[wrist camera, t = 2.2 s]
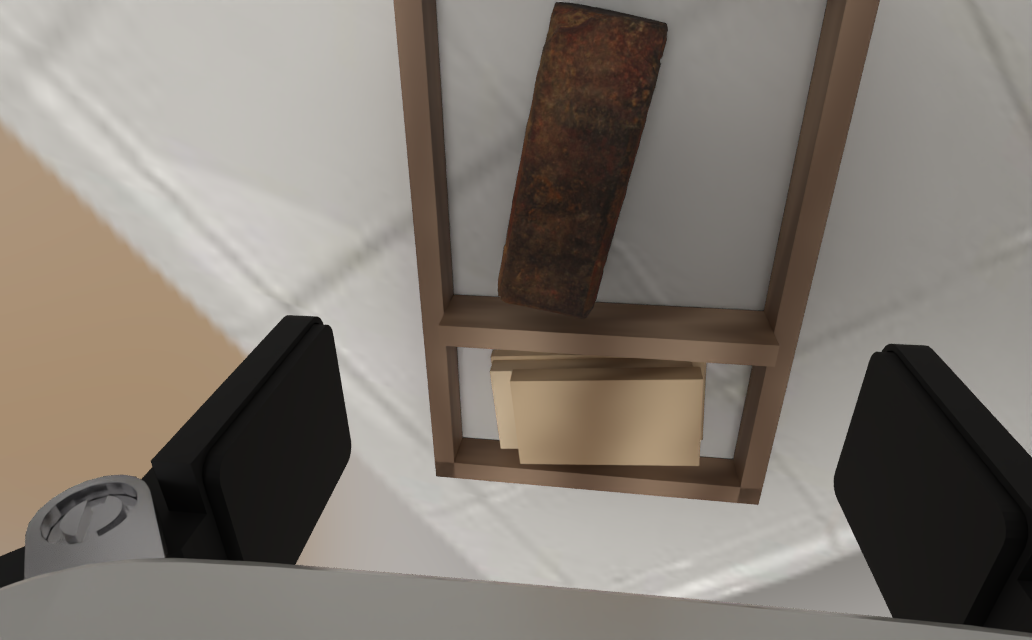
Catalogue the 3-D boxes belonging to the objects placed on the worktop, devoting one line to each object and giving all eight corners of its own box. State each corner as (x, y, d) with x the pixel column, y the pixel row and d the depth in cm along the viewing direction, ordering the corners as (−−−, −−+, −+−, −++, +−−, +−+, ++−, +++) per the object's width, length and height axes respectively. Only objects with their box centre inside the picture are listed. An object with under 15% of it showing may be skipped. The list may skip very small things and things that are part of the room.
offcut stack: (704, 341, 29) (713, 377, 27) (700, 427, 32) (707, 467, 29) (494, 345, 31) (483, 379, 28) (505, 426, 33) (496, 465, 31)
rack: (871, -59, 21) (908, -65, 18) (750, 476, 32) (762, 520, 30) (405, -53, 23) (379, -57, 20) (445, 450, 34) (431, 490, 31)
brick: (594, 276, 28) (591, 326, 24) (508, 257, 28) (491, 303, 24) (664, 20, 23) (676, 28, 19) (559, -3, 23) (548, 0, 19)
